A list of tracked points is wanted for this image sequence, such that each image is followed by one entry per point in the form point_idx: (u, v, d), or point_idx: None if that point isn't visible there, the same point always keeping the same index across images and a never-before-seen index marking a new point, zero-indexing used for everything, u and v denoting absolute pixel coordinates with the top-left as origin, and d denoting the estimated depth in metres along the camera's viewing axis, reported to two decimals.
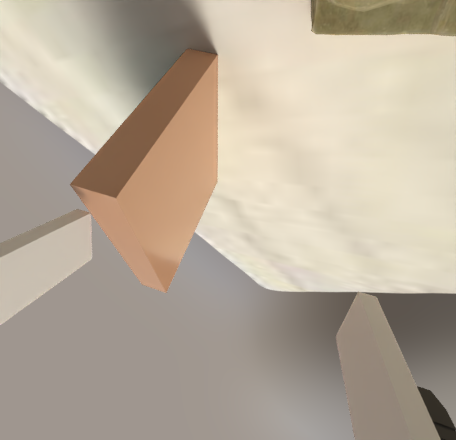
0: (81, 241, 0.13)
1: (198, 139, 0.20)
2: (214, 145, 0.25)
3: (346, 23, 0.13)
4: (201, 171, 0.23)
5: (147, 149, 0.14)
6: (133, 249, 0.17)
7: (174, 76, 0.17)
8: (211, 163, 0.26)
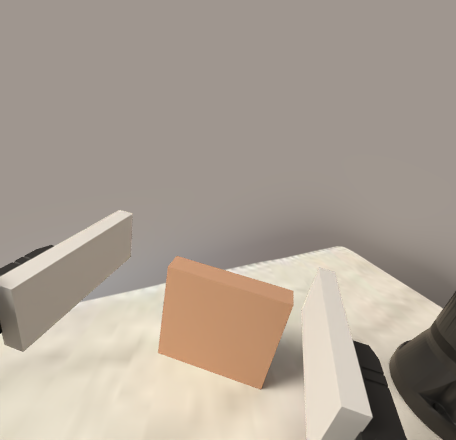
0: (124, 240, 0.14)
1: (236, 353, 0.32)
2: (203, 364, 0.34)
3: None
4: (207, 344, 0.32)
5: (284, 327, 0.29)
6: (241, 284, 0.29)
7: None
8: (193, 355, 0.33)
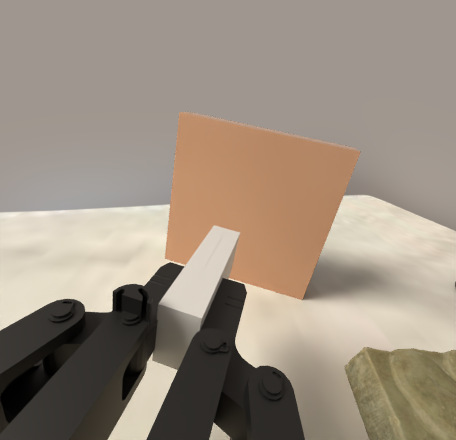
0: None
1: (270, 246, 0.23)
2: None
3: (382, 371, 0.16)
4: None
5: (343, 193, 0.20)
6: (282, 133, 0.20)
7: None
8: None
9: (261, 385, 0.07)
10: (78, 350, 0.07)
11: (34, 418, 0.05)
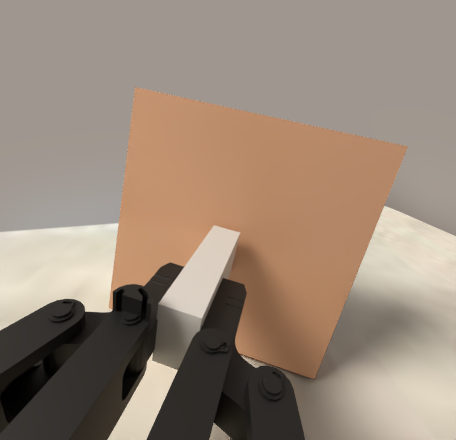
0: None
1: (267, 293, 0.15)
2: None
3: None
4: None
5: (380, 212, 0.13)
6: None
7: None
8: None
9: (261, 385, 0.07)
10: (78, 351, 0.07)
11: (34, 418, 0.05)
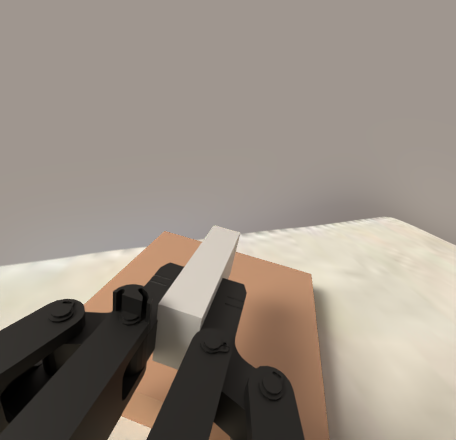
0: None
1: (248, 342, 0.15)
2: (163, 379, 0.12)
3: None
4: None
5: (313, 298, 0.20)
6: None
7: None
8: None
9: (261, 385, 0.07)
10: (78, 350, 0.07)
11: (34, 418, 0.05)
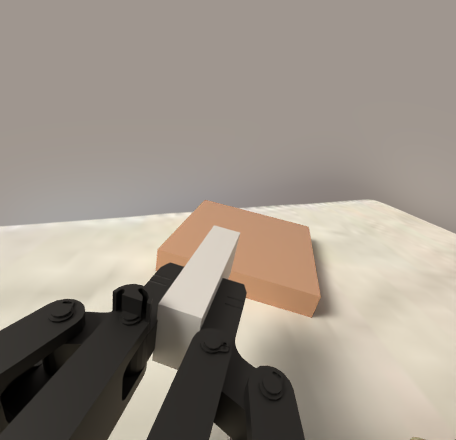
0: None
1: (272, 254, 0.26)
2: None
3: None
4: None
5: (310, 238, 0.31)
6: None
7: None
8: None
9: (261, 385, 0.07)
10: (78, 350, 0.07)
11: (34, 418, 0.05)
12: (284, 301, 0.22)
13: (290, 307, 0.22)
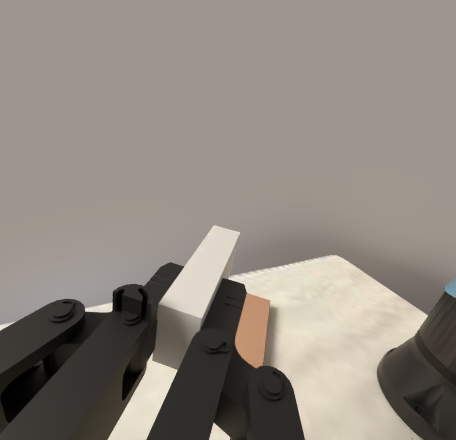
0: None
1: (240, 330, 0.42)
2: None
3: None
4: None
5: (268, 312, 0.47)
6: None
7: None
8: None
9: (261, 385, 0.07)
10: (78, 350, 0.07)
11: (34, 418, 0.05)
12: None
13: None
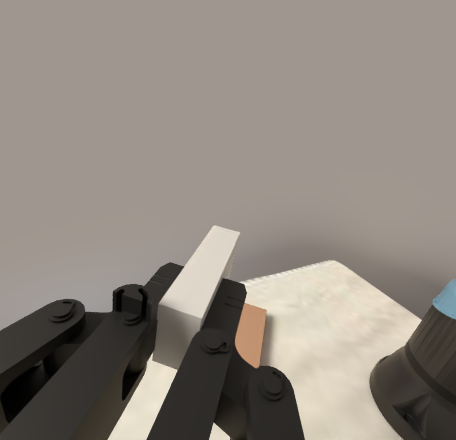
0: None
1: (236, 340, 0.43)
2: None
3: None
4: None
5: (264, 322, 0.48)
6: None
7: None
8: None
9: (261, 385, 0.07)
10: (78, 350, 0.07)
11: (34, 418, 0.05)
12: None
13: None
